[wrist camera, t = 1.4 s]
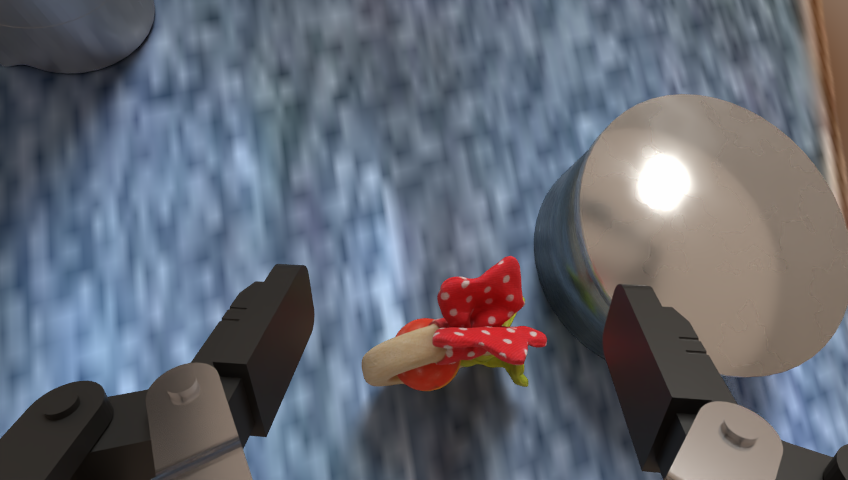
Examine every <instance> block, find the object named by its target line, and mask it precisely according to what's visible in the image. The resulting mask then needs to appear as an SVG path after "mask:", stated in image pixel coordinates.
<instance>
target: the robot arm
mask: <svg viewBox="0 0 848 480" xmlns="http://www.w3.org/2000/svg"><path fill="white" fill-rule="evenodd" d="M154 13H155V6H154V0H0V64H1V65H2V66H4V67H9V66H14V65H28V66H32V67H35V68H38V69H41V70H44V71H49V72H57V73H84V72H89V71H94V70H99V69H102V68H104V67H107V66H110V65H112V64H115V63H117V62H118V61H120V60H122V59H123V58H125V57H127V56H128V55H130V54H131V53H132V52H133V51H134V50H135V49H136V48H138V47H139V46H140V45H141V43H142V42H143V41H144V39H145V38H146V36H147V35H148V34H149V31H150V29H151V26H152V24H153V21H154ZM313 325H314V306H313V300H312V293H311V287H310V280H309V274H308V270H307V267H306V266H304V265H287V264H276V265H275V266H274V267H273V269H272V270H271V272H270V273H269V275H268V277H267V278H266V280H265V281H264V282H256V281H255V282H254V283H253V284H251V285H250V286H249V287H247V288H246V289H244V290H243V291H242V292H240V293H239V295H238V296H237V297H236V299H235V300H234V302H233V303H232V305H231V306H230V310H227V312H226V313H225V315H224V316H223V317H222V321H220V322H219V323H218V325H217V326H216V327H215V329H214V330H213V332H212V333H211V335H210V336H209V337H208V339H207V340H206V342H205V343H204V345H203V346H202V347H201V349H200V350H199V352H198V353H197V355H196V356H195V358H194V359H193V360H192V362H191V363H188V364H184V365H180V366H177V367H175V368H173V369H171V370H169V371H167V372H166V373H164V374H163V375H161V376H160V377H159V378H158V379H156V380H155V382H154V383H153V384H152V385H151V387H150V388H149V389H148V390H144V391H138V392H133V393H127V394H122V395H116V396H111V397H107V395H106V393H105V391H104V389H103V387H102V386H101V385H100V384H98V383H96V382H92V381H78V382H72V383H69V384H65V385H63V386H60V387H58V388H56V389H53V390H52V391H50V392H48V393H46V394H45V395H43V396H42V397H40V398H39V399H38V400H36V401H35V402H34V403H33V404H32V405H31V406H30V407H29V408H28V409H27V410H26V411H25V412H24V413H23V415H22V416H21V417H20V418H19V419H18V420H17V421H16V422H15V423H14V424H13V426H12V427H11V428H10V429H9V430H8V431H7V432H6V433H5V434H4V435H3V436H2V438H1V439H0V480H253V479H252V476H251V473H250V470H249V467H248V464H247V461H246V457H245V454H244V451H243V448H244V446H245V444H246V442H247V440H248V438H249V436H261V437H267V434H268V432H269V430H270V428H271V425H272V423H273V421H274V418H275V416H276V414H277V411H278V409H279V407H280V405H281V402H282V400H283V398H284V395H285V393H286V391H287V388H288V386H289V384H290V381H291V379H292V377H293V375H294V372H295V370H296V368H297V365H298V363H299V361H300V358H301V356H302V354H303V352H304V349H305V347H306V345H307V342H308V340H309V338H310V335H311V333H312V330H313ZM603 351H604V355H605V358H606V361H607V364H608V368H609V371H610V374H611V377H612V380H613V383H614V386H615V389H616V392H617V395H618V399H619V402H620V405H621V408H622V411H623V414H624V417H625V420H626V423H627V427H628V430H629V433H630V436H631V439H632V442H633V445H634V448H635V451H636V454H637V458H638V461H639V464H640V467H641V470H642V471H647V472H658V473H661V475H662V477H663V480H848V444H847V445H844V446H843V447H841V448H840V449H839V450H838V452H837V453H836V454H835V456H834V457H830V456H827V455H824V454H821V453H818V452H815V451H812V450H809V449H805V448H802V447H799V446H796V445H793V444H790V443H787V442H785V441H782V440H781V439H780V437H779V435H778V434H777V432H776V431H775V430H774V428H773V427H772V426H771V425H770V424H769V423H768V422H767V421H765V420H764V419H763V418H762V417H760V416H759V415H757V414H756V413H754V412H753V411H751V410H749V409H747V408H745V407H743V406H740V405H738V404H737V403H736V401H735V399H734V398H733V396H732V394H731V392H730V391H729V389H728V387H727V385H726V384H725V382H724V380H723V379H722V377H721V375H720V373H719V372H718V370H717V368H716V367H715V365H714V363H713V361H712V360H711V358H710V356H709V355H707V353H706V352H707V351H706V349H705V348H704V346H703V344H702V343H701V341H699V337H698V336H697V334H696V332H695V331H694V329H693V327H692V325H691V324H690V322H689V321H688V320H687V319H686V318H684V317H683V316H682V315H681V314H680V313H679V312H677V311H676V310H675V309H674V308H673V307H662V305H661V303H660V301H659V299H658V297H657V296H656V294H655V292H654V290H653V288H652V287H651V286H647V285H629V284H618V285H617V286H616V287H615V290H614V293H613V297H612V300H611V304H610V308H609V312H608V315H607V319H606V323H605V327H604V331H603Z"/></svg>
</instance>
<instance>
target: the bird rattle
mask: <svg viewBox="0 0 848 480" xmlns="http://www.w3.org/2000/svg"><path fill="white" fill-rule="evenodd" d="M520 273H521V272H520V266H519V263H518V261H517V260H516V258H514V257H512V256H508V257H505V258H504V259H502V260H501V261H500V262H498V263H497V264H496V265H494V266H493V267H491V268H490V269H489V270H488V271H486V272H485V273H484V274H483V275H482V276H480V277H478V278H474V279H468V278H464V277H452V278H449V279H447V280H446V281H444V282H443V284H442V285H441V288H440V291H439V293H438V296H437V297H438V304H439V306H440V309H441V312H442V315H443V317H444V318H441V319H436V320H434V319H428V318H423V319H417V320H414V321H412V322H410V323H408V324H407V325H405V326H404V327H403V328H402V329H401V330H400V331H399V332H398V333H397V335H396V337H394V338H392V339H389V340H387V341H385V342H383V343H381V344H379V345H377V346H375V347H374V348H372V349H371V350H370V351H368V352H367V353H366V354H365V355H364V357H363V359H362V371H363V375H364V379H365V380H366V382H367V383H368V384H370V385H372V386H389V385H396V384H406V385H407V386H409V387H411V388H413V389H415V390H420V391H432V390H437V389H440V388H442V387H444V386H445V385H447V384H448V383H449V382H450V381H451V380H452V379H453V378H454V377H455V376H456V374H457V372H458V370H459V368H462V367H470V366H473V365H475V364H482V365H485V366H487V367H492V368H494V367H503V368H505V369H506V371H507V372H508V373H509V375H510V377H511V378H512V380H513V382H514V383H515V384H517V385H520V386H524V387H527V386H528V379H527V378H526V377H525V376H524V375H523V373H524V362H525V359H526V356H527V351H528V345H530V346H533V347H544V346H546V343H547V338H546V336H545V334H543V333H542V332H540V331H537V330H535V329H533V328H530V327H526V326H518V327H510V326H511V324H512V322H513V320H514V317H515V315H516V313H517V312H518V311H519V310H520V309H521V308H522V307H523V306H524V305H525V299H524V298H523V296H522V289H521V274H520Z"/></svg>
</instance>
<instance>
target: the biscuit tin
mask: <svg viewBox="0 0 848 480" xmlns="http://www.w3.org/2000/svg"><path fill="white" fill-rule="evenodd" d="M534 253H535V262H536V267H537V271H538V275H539V280H540V282H541V285H542V287H543V290H544V293H545V295H546V297H547V299H548V301H549V303H550V305H551V307H552V309H553V310H554V312H555V313H556V315H557V316H558V318H559V319H560V320H561V322H562V323H563V324H564V326H565V327H566V328H567V329H568V330H569V331H570V332H571V334H572V335H573V336H574V337H575V338H577V339H578V340H579V341H580V342H581V343H582V344H583V345H584V346H585V347H587V348H588V349H590V350H591V351H592V352H594V353H595V354H597V355H598V356H600V357H602V358H604V359H605V360H606V358H605V355H604V351H603V331H604V327H605V323H606V319H607V315H608V312H609V308H610V304H611V300H612V297H613V293H614V290H615V287H616V286H617V285H618V284H629V285H647V286H651V287H652V288H653V290H654V292H655V294H656V296H657V297H658V299H659V301H660V303H661V305H662V307H673V308H674V309H675V310H676V311H677V312H679V313H680V314H681V315H682V316H683V317H684V318H686V319H687V320H688V321H689V322H690V324H691V325H692V327H693V329H694V331H695V332H696V334H697V336H698V337H699V341H701V343H702V344H703V346H704V348H705V349H706V351H707V352H706V353H707V355H709V356H710V358H711V360H712V361H713V363H714V365H715V367H716V368H717V370H718V372H719V373H720V375H721V376H727V377H758V376H768V375H772V374H777V373H781V372H785V371H787V370H789V369H792V368H794V367H797V366H799V365H801V364H802V363H804V362H805V361H807V360H809V359H810V358H812V357H813V356H814V355H815V354H816V353H818V352H819V351H820V350H821V349H822V348H823V347H824V346H825V345H826V344H827V343H828V341H829V340H830V339H831V337H832V336H833V335H834V333H835V332H836V330H837V328H838V326H839V325H840V323H841V321H842V319H843V317H844V314H845V311H846V308H847V305H848V231H847V228H846V225H845V222H844V219H843V215H842V213H841V211H840V208H839V206H838V204H837V201H836V199H835V197H834V195H833V193H832V191H831V190H830V188H829V186H828V184H827V182H826V181H825V179H824V178H823V176H822V175H821V173H820V172H819V171H818V169H817V168H816V166H815V165H814V164H813V163H812V161H811V160H810V159H809V158H808V157H807V155H806V154H805V153H804V152H803V151H802V150H801V149H800V148H799V147H798V146H797V145H796V144H795V143H794V142H793V141H792V140H791V139H790V138H789V137H788V136H786V135H785V134H784V133H783V132H782V131H780V130H779V129H778V128H777V127H775V126H774V125H772V124H771V123H769V122H768V121H766V120H765V119H763V118H762V117H760V116H758V115H756V114H754V113H753V112H751V111H749V110H747V109H745V108H742V107H740V106H738V105H735V104H733V103H730V102H727V101H723V100H720V99H717V98H712V97H706V96H701V95H687V94H680V95H667V96H663V97H658V98H654V99H650V100H648V101H645V102H642V103H640V104H637V105H636V106H634V107H632V108H630V109H629V110H627V111H625V112H624V113H623V114H621V115H620V116H619V117H618V118H616V119H615V120H614V121H613V122H612V123H611V124H610V125H609V126H608V127H607V128H605V130H604V131H603V132H602V133H601V134H600V135H599V136H598V137H597V138H596V140H595V141H594V143H593V144H592V146H591V147H590V149H589V150H588V151H587V152H586V153H585V154H584V155H583V156H581V157H580V158H579V159H578V160H577V161H576V162H575V163H574V164H573V165H572V166H571V167H570V168H569V169H568V170H567V171H566V172H565V173H564V174H563V175H562V176H561V177H560V178H559V179H558V180H557V181H556V182H555V183H554V184H553V186H552V187H551V189H550V190H549V192H548V193H547V195H546V197H545V199H544V201H543V203H542V205H541V207H540V210H539V214H538V217H537V221H536V227H535V233H534Z"/></svg>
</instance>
